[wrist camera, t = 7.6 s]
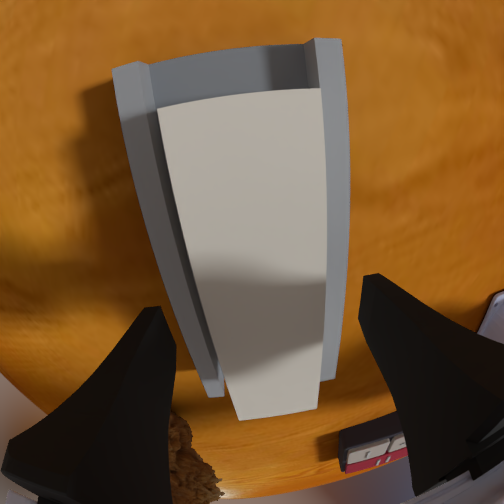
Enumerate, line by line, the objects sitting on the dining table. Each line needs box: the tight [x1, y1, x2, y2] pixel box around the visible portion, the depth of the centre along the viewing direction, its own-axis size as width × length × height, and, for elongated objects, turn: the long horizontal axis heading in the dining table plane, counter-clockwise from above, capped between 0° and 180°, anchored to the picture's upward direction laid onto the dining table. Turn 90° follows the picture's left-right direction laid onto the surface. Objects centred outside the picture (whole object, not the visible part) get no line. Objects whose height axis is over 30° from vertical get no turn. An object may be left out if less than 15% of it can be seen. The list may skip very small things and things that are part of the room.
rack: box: [112, 38, 350, 398], centre depth 14 cm, size 18×8×2 cm, turn 7°
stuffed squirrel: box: [168, 412, 225, 504], centre depth 18 cm, size 10×14×13 cm
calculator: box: [338, 411, 408, 474], centre depth 28 cm, size 11×4×15 cm
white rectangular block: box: [157, 88, 327, 421], centre depth 12 cm, size 14×4×4 cm, turn 7°
